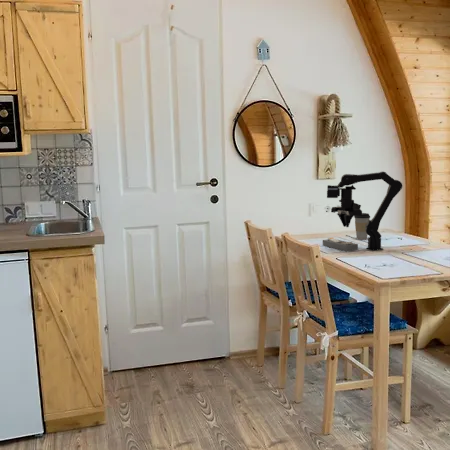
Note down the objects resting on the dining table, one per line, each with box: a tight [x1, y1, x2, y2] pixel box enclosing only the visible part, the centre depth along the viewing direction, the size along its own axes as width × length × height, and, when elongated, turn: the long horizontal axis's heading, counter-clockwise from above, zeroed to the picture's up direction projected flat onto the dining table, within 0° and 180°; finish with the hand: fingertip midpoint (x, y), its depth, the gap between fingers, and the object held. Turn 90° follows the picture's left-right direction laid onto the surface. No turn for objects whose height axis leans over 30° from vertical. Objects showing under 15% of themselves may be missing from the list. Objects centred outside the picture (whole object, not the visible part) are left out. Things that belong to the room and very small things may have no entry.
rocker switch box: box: [322, 239, 359, 252], centre depth 286 cm, size 20×8×3 cm, turn 27°
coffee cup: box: [353, 212, 371, 241], centre depth 310 cm, size 9×9×15 cm
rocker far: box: [327, 237, 340, 242], centre depth 290 cm, size 6×4×1 cm, turn 27°
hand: (346, 226), depth 280 cm, fingers closed
